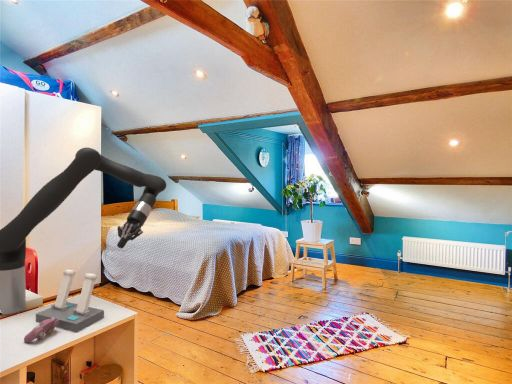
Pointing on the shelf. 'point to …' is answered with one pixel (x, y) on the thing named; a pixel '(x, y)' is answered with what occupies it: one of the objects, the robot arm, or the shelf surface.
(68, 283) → the lever
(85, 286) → the lever
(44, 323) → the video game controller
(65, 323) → the switch base
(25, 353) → the shelf surface
